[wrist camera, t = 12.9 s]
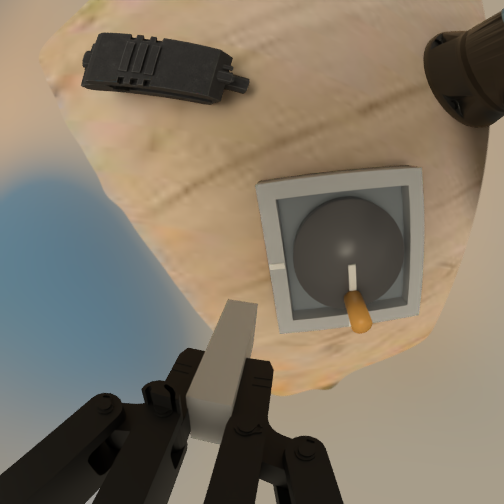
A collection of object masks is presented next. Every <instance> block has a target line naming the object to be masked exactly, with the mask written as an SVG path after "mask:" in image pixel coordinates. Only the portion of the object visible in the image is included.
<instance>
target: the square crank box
mask: <svg viewBox="0 0 504 504" xmlns="http://www.w3.org/2000/svg"><path fill="white" fill-rule="evenodd" d="M255 187H256V193H257V199H258V204H259V210H260V216H261V222H262V228H263V234H264V240H265V245H266V251H267V257H268V264H269V270H270V276H271V282H272V288H273V294H274V300H275V307H276V313H277V319H278V326H279V332H280V334H284V333H295V332H306V331H316V330H325V329H333V328H341V327H351V324H350V320H349V317H348V313H347V310H346V309H338V308H332V307H329V306H326V305H323V304H321V303H319V302H318V301H316V300H314V299H313V298H312V297H311V296H309V295H308V294H307V293H306V291H305V290H304V289H303V288H302V286H301V285H300V283H299V281H298V279H297V276H296V273H295V269H294V263H293V248H294V241H295V236H296V233H297V231H298V229H299V227H300V225H301V223H302V222H303V220H304V219H305V217H306V216H307V215H308V214H309V213H310V212H311V211H312V210H313V209H315V208H316V207H317V206H319V205H320V204H322V203H324V202H326V201H328V200H331V199H334V198H339V197H348V196H351V197H359V198H363V199H366V200H368V201H371V202H373V203H374V204H376V205H378V206H379V207H381V208H382V209H383V210H385V211H386V212H387V213H388V214H389V215H390V216H391V217H392V218H393V219H394V220H395V222H396V223H397V225H398V227H399V229H400V231H401V234H402V237H403V242H404V260H403V265H402V268H401V271H400V273H399V275H398V277H397V279H396V281H395V282H394V284H393V285H392V286H391V288H390V289H389V290H388V291H387V292H386V293H385V294H384V295H382V296H381V297H380V298H379V299H377V300H375V301H374V302H372V303H370V304H367V305H366V307H367V309H368V312H369V314H370V317H371V319H372V323H376V322H383V321H389V320H395V319H400V318H406V317H411V316H416V315H419V309H420V300H421V290H422V278H423V261H424V195H423V178H422V168H421V167H415V166H409V165H405V166H389V167H375V168H363V169H352V170H342V171H332V172H323V173H315V174H307V175H299V176H291V177H284V178H277V179H270V180H264V181H259V182H258V183H257V184H256V185H255Z"/></svg>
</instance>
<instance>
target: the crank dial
mask: <svg viewBox="0 0 504 504" xmlns="http://www.w3.org/2000/svg"><path fill="white" fill-rule="evenodd" d="M403 260H404V242H403V237H402V234H401V231H400V229H399V227H398V225H397V223H396V222H395V220H394V219H393V218H392V217H391V216H390V215H389V214H388V213H387V212H386V211H385V210H383V209H382V208H381V207H379V206H378V205H376V204H374V203H373V202H371V201H368V200H366V199H363V198H359V197H351V196H348V197H339V198H334V199H331V200H328V201H326V202H324V203H322V204H320V205H319V206H317V207H316V208H315V209H313V210H312V211H311V212H310V213H309V214H308V215H307V216H306V217H305V219H304V220H303V222H302V223H301V225H300V227H299V229H298V231H297V233H296V236H295V241H294V248H293V263H294V269H295V273H296V276H297V279H298V281H299V283H300V285H301V286H302V288H303V289H304V290H305V291H306V293H307V294H308V295H309V296H311V297H312V298H313V299H314V300H316V301H318V302H319V303H321V304H323V305H326V306H329V307H332V308H338V309H346V310H347V313H348V317H349V320H350V324H351V327H352V330H353V331H354V332H355V333H365V332H367V331H368V330H369V329H370V328H371V326H372V319H371V317H370V314H369V312H368V309H367V307H366V305H367V304H370V303H372V302H374V301H375V300H377V299H379V298H380V297H381V296H382V295H384V294H385V293H386V292H387V291H388V290H389V289H390V288H391V286H392V285H393V284H394V282H395V281H396V279H397V277H398V275H399V273H400V271H401V268H402V265H403Z"/></svg>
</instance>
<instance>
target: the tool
mask: <svg viewBox="0 0 504 504" xmlns="http://www.w3.org/2000/svg"><path fill="white" fill-rule="evenodd" d="M232 59H233V58H232V57H231V56H229V55H228V54H226V53H225V52H223V51H222V50H219V49H215V48H211V47H207V46H202V45H198V44H193V43H188V42H183V41H177V40H172V39H165V38H164V39H163V41H157V37H151V38H150V40H148V39H144V36H143V35H137V38H132V35H131V34H121V33H101V34H98V37H97V40H96V43H95V44H93V46H92V49H91V51H86V53H85V54H84V57H83V63H82V64H83V67H85V72H84V76H83V80H82V83H81V86H82V87H85V88H87V89H91V90H99V91H114V92H126V93H135V94H144V95H152V96H159V97H166V98H173V99H179V100H185V101H190V102H196V103H201V104H208V105H211V104H214V103H217V102H220V101H221V98H222V95H223V91H224V89H227V90H231V91H235V92H239V93H243V94H244V93H245V92H246V91H247V88H248V86H249V79H247V78H244V77H240V76H237V75H233V73H230V72H229V70H230V71H232V70H233V67H232V66H231V62H232Z"/></svg>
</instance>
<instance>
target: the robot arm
mask: <svg viewBox="0 0 504 504" xmlns="http://www.w3.org/2000/svg"><path fill="white" fill-rule="evenodd" d="M424 69H425V74H426V78H427V80H428V83H429V86H430V88H431V90H432V92H433V94H434V95H435V97H436V99H437V100H438V102H439V103H440V104H441V106H442V107H443V108H444V109H445V110H446V111H447V112H448V113H449V114H450V115H451V116H452V117H453V118H455V119H456V120H457V121H459V122H461V123H463V124H465V125H467V126H471V127H486V126H489V125H492V124H493V123H495V122H496V121H497V120H499V119H500V118H501V117H503V116H504V9H502V11H501V12H499V13H497V14H495V15H494V16H492V17H490V18H488V19H487V20H485V21H483V22H482V23H480V24H478V25H477V26H475V27H473V28H472V29H470V30H468V31H451V32H443V33H440V34H438V35H436V36H435V37H434V38H432V39H431V40H430V41H429V43H428V44H427V46H426V48H425V52H424ZM257 306H258V304H256V303H249V302H242V301H236V300H229V299H228V301H227V303H226V305H225V308H224V310H223V312H222V314H221V317H220V319H219V321H218V324H217V326H216V328H215V330H214V333H213V335H212V337H211V340H210V342H209V344H208V347H207V349H206V351H201V350H197V349H192V348H187V349H186V350H184V351H183V352H182V353H180V355H179V356H178V358H177V360H176V362H175V364H174V366H173V368H172V370H171V371H170V373H169V375H168V377H167V379H166V380H165V381H161V380H158V381H152V382H150V383H148V384H146V385H145V386H144V387H143V388H142V393H143V397H144V401H145V403H143V404H129V403H122V402H121V400H120V399H119V398H118V397H117V396H116V395H113V394H111V393H101V394H98V395H96V396H94V397H93V398H91V399H90V400H89V401H88V402H87V403H86V404H85V405H83V406H82V407H81V408H80V409H79V410H77V411H76V412H75V413H74V414H73V415H71V416H70V417H69V418H68V419H67V420H65V421H64V422H63V423H62V424H61V425H60V426H58V427H57V428H56V429H55V430H54V431H52V432H51V433H50V434H49V435H48V436H47V437H45V438H44V439H43V440H42V441H41V442H39V443H38V444H37V445H36V446H35V447H33V448H32V449H31V450H30V451H29V452H27V453H26V454H25V455H24V456H23V457H22V458H20V459H19V460H18V461H17V462H16V463H14V464H13V465H12V466H11V467H10V468H8V469H7V470H6V471H5V472H3V473H2V474H1V475H0V504H85V503H86V502H87V501H88V500H89V498H91V497H92V496H93V495H94V494H95V492H97V490H98V489H99V488H100V489H99V491H98V493H97V495H96V497H95V499H94V501H93V503H92V504H167V503H168V500H169V497H170V495H171V492H172V489H173V487H174V484H175V481H176V478H177V476H178V473H179V470H180V467H181V465H182V462H183V459H184V456H185V454H186V451H187V439H188V436H189V434H191V438H194V439H198V440H203V441H207V442H211V443H216V444H220V448H219V452H218V455H217V459H216V462H215V466H214V469H213V473H212V476H211V480H210V484H209V487H208V490H207V494H206V497H205V500H204V504H255V499H256V493H257V488H258V482H259V479H261V480H264V481H266V482H269V483H271V484H273V486H274V492H275V497H276V502H277V504H343V501H342V498H341V494H340V491H339V488H338V485H337V482H336V479H335V476H334V472H333V469H332V466H331V463H330V460H329V457H328V454H327V451H326V448H325V447H324V445H323V443H322V442H321V441H319V440H318V439H316V438H313V437H311V436H299V437H296V438H293V439H291V438H289V437H286V436H283V435H281V434H279V433H277V432H276V431H274V430H273V429H272V427H271V426H270V425H269V422H268V410H269V403H270V395H271V387H272V379H273V371H274V370H273V368H272V365H271V363H270V361H264V360H257V359H250V357H251V352H252V348H253V341H254V333H255V324H256V315H257Z"/></svg>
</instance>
